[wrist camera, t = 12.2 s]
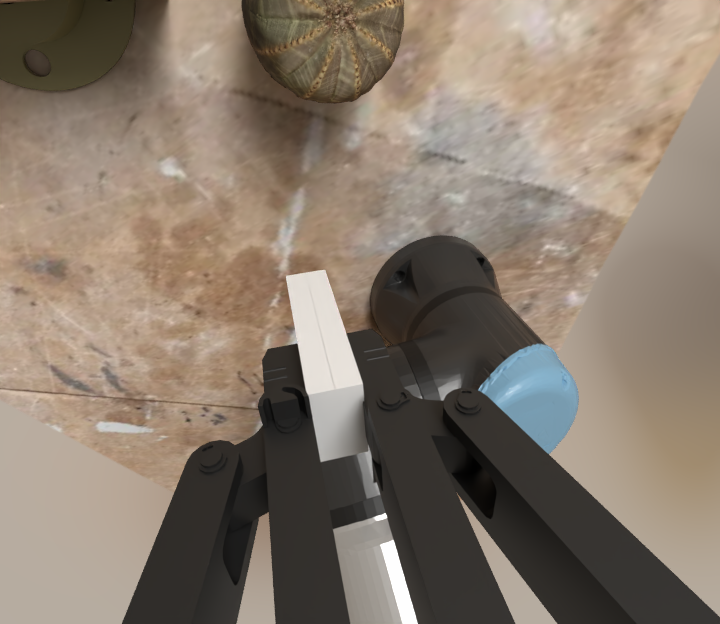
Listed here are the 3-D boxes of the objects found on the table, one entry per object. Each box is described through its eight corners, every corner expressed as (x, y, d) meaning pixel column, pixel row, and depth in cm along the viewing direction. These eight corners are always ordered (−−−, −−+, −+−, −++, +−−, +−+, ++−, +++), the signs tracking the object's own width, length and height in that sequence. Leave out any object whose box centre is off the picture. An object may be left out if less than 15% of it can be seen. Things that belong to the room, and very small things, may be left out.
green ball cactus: (282, 110, 41) (295, 141, 31) (216, -32, 35) (207, -50, 25) (392, 58, 40) (440, 72, 31) (345, -96, 34) (388, -141, 24)
